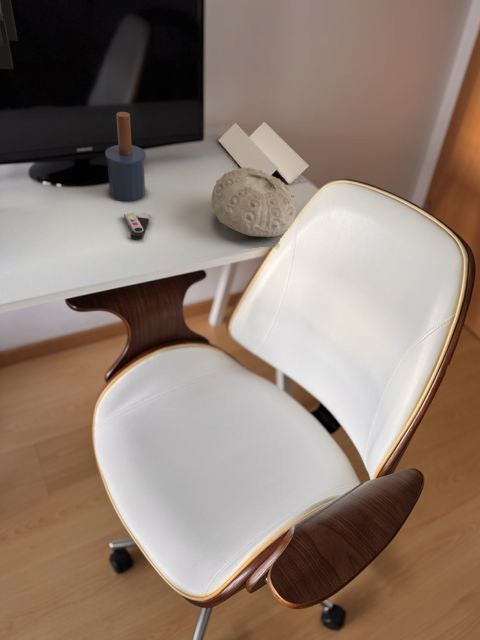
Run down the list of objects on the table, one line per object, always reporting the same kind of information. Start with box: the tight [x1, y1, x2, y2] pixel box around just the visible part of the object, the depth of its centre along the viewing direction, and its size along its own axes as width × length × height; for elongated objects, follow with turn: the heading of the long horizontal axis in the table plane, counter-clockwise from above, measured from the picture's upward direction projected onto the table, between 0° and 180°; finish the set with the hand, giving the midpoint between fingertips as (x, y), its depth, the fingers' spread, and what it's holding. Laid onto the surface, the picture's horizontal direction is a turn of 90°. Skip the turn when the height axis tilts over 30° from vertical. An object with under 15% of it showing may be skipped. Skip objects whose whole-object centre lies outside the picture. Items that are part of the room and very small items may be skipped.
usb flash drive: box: [123, 212, 151, 240], centre depth 110 cm, size 9×5×1 cm, turn 177°
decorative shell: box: [210, 167, 297, 238], centre depth 112 cm, size 18×18×10 cm
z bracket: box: [218, 121, 309, 185], centre depth 136 cm, size 12×25×6 cm
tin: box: [106, 158, 146, 203], centre depth 116 cm, size 7×7×8 cm
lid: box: [104, 111, 147, 165], centre depth 111 cm, size 8×8×9 cm
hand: (6, 53), depth 86 cm, fingers open, 13 cm apart
